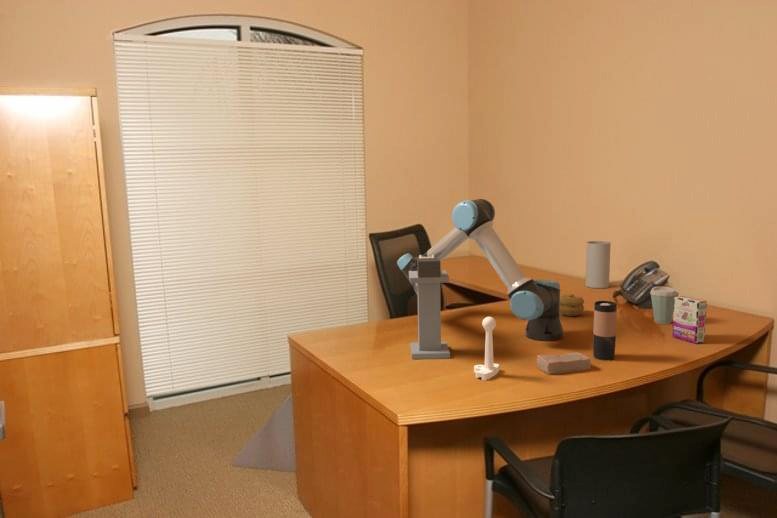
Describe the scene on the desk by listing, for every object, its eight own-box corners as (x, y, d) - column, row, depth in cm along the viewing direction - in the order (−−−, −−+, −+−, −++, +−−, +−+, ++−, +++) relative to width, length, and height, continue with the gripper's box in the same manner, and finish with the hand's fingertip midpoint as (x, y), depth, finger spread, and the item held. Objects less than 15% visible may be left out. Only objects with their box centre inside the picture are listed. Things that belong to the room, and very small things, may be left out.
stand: (410, 346, 231) (408, 271, 226) (446, 345, 231) (445, 270, 226) (411, 359, 215) (410, 278, 211) (450, 358, 215) (449, 277, 211)
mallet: (415, 266, 235) (415, 252, 234) (435, 266, 235) (435, 251, 234) (418, 277, 212) (418, 261, 211) (440, 277, 212) (440, 260, 211)
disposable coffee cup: (678, 326, 249) (680, 291, 247) (651, 325, 251) (653, 290, 249) (672, 319, 260) (673, 286, 257) (645, 318, 262) (647, 285, 259)
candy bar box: (705, 342, 226) (707, 300, 224) (695, 344, 224) (698, 302, 222) (680, 335, 236) (682, 295, 234) (671, 336, 234) (673, 296, 232)
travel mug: (614, 354, 215) (616, 301, 212) (615, 361, 208) (617, 306, 204) (592, 353, 217) (594, 300, 214) (592, 359, 210) (594, 305, 207)
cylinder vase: (589, 283, 340) (590, 240, 336) (611, 285, 332) (613, 241, 328) (582, 287, 330) (583, 243, 326) (605, 289, 322) (606, 244, 318)
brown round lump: (580, 311, 277) (581, 291, 275) (586, 318, 265) (587, 296, 264) (555, 311, 278) (555, 291, 276) (560, 318, 267) (560, 296, 265)
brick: (578, 362, 208) (578, 349, 207) (591, 370, 200) (592, 357, 199) (535, 368, 204) (535, 355, 203) (548, 376, 196) (548, 362, 195)
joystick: (488, 381, 192) (488, 321, 189) (467, 376, 196) (466, 318, 193) (501, 370, 201) (502, 314, 198) (481, 367, 205) (481, 311, 202)
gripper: (444, 285, 247) (449, 266, 225) (403, 286, 247) (404, 267, 225) (443, 269, 249) (448, 248, 227) (403, 270, 249) (404, 249, 227)
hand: (426, 258), depth 226 cm, fingers open, 4 cm apart
